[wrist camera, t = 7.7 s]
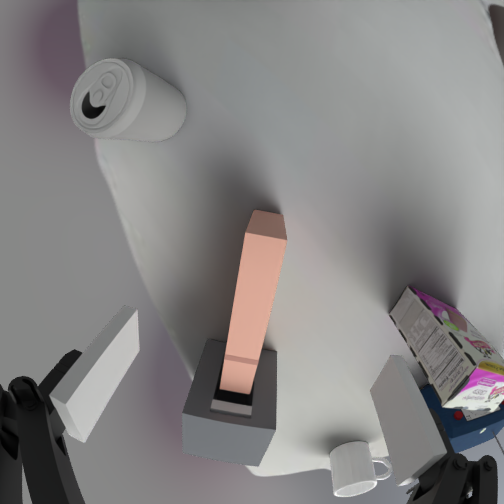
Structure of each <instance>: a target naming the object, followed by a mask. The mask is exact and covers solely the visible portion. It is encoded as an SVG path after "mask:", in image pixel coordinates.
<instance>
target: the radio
mask: <svg viewBox="0 0 504 504" xmlns="http://www.w3.org/2000/svg"><path fill="white" fill-rule="evenodd" d="M420 392H421V394H422V396H423V398H424V400H425V402H426V405H427V407H428V408H432V409H433V410H434V411H435V412H436V413H437V414H438V416H439V418H440V420H441V422H442V424H443V426H444V431H446V433H447V435H448V438H449V440H450V442H451V445H452V447H453V449H454V452H455V453H458V452H461V451H464V450H466V449H469V448H471V447H474V446H476V445H479V444H481V443H484V442H486V441H488V440H490V439H493V438H494V437H495V438H496V440H497V442H498V444H499V446H500V448H501V450H502V452H503V454H504V451H503V449H502V447H501V445H500V443H499V441H498V439H497V437H496V435H497V434H498V432H499V431H500V430H501V429H502V428H503V427H504V400H503V401H502V403H501V404H500V405H499V406H498V407H497V408H496V409H495V410H494V411H493V412H489V411H475V410H464V409H455V408H446V407H442V406H441V403H440V401H439V399H438V398H437V395H436V394H435V392H434V390H433V388H432V386H431V385H426V386H425V387H424V388H423V389H422V390H421V391H420Z"/></svg>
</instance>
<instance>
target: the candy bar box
mask: <svg viewBox="0 0 504 504" xmlns="http://www.w3.org/2000/svg"><path fill="white" fill-rule="evenodd" d="M389 316H390V318H391V319H392V321H393V322H394V324H395V325H396V327H397V329H398V330H399V332H400V333H401V335H402V337H403V338H404V340H405V341H406V343H407V345H408V347H409V348H410V350H411V351H412V353H413V355H414V357H415V358H416V360H417V362H418V363H419V365H420V367H421V369H422V370H423V372H424V374H425V376H426V377H427V379H428V381H429V383H430V384H431V386H432V388H433V390H434V392H435V394H436V395H437V398H438V399H439V401H440V403H441V406H442V407H446V408H455V409H464V410H475V411H489V412H493V411H494V410H495V409H496V408H497V407H498V406H499V405H500V404H501V403H502V401H503V400H504V359H503V358H502V357H501V356H500V355H499V354H498V352H497V351H496V350H495V349H494V348H493V347H492V346H491V345H490V343H489V342H488V341H487V340H486V339H485V338H484V337H483V336H482V335H481V334H480V333H479V332H478V331H477V329H476V328H475V327H474V326H473V325H472V324H471V323H470V322H469V321H468V320H467V319H466V318H465V317H464V316H463V315H462V314H461V313H460V312H459V311H458V310H457V309H455V308H453V307H451V306H449V305H447V304H445V303H443V302H441V301H439V300H437V299H435V298H433V297H431V296H429V295H427V294H425V293H423V292H421V291H419V290H417V289H415V288H413V287H411V286H409V285H408V286H407V287H406V288H405V290H404V291H403V293H402V295H401V297H400V299H399V300H398V302H397V303H396V305H395V306H394V308H393V309H392V311H391V312H390V314H389Z"/></svg>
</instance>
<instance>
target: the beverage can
mask: <svg viewBox="0 0 504 504" xmlns="http://www.w3.org/2000/svg"><path fill="white" fill-rule="evenodd" d="M70 112H71V116H72V120H73V122H74V123H75V125H76V126H77V127H78V128H79V129H80V130H82V131H84V132H85V133H87V134H88V135H89V136H91V137H94V138H98V139H118V140H134V141H147V142H160V141H164V140H166V139H168V138H170V137H172V136H173V135H174V134H176V133H177V132H178V131H179V129H180V128H181V126H182V125H183V123H184V121H185V118H186V113H187V105H186V101H185V98H184V96H183V95H182V93H181V92H180V91H179V90H178V89H177V88H175V87H174V86H172V85H171V84H169V83H167V82H166V81H164V80H163V79H161V78H160V77H158V76H156V75H155V74H153V73H152V72H150V71H148V70H147V69H145V68H144V67H142V66H140V65H139V64H137V63H135V62H134V61H132V60H129V59H125V58H116V59H114V58H108V59H103V60H100V61H98V62H96V63H94V64H93V65H91V66H90V67H89V68H87V69H86V70H85V71H84V72H83V74H82V75H81V76H80V77H79V79H78V81H77V82H76V84H75V86H74V88H73V91H72V94H71V99H70Z"/></svg>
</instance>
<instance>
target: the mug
mask: <svg viewBox="0 0 504 504" xmlns="http://www.w3.org/2000/svg"><path fill="white" fill-rule="evenodd" d="M373 462H382V463H383V464H384V465H386V466H387V467H388V471H387V473H385V474H383V475H381V476H376V475H375V470H374V466H373ZM330 464H331V472H332V482H333V492H334V495H336V496H339V497H349V496H354V495H359V494H362V493H365V492H367V491H369V490H371V489H372V488H374V487H375V486H376V484H377V480H383V479H386V478H387V477H389V476H390V475H391V473H392V470H393V467H392V464H391V463H390V462H389V461H388V460H387V459H386V458H379V457H373V458H372V457H371V452H370V448H369V445H368V444H367V443H366V442H363V441H353V442H349V443H345V444H342V445H340V446H338V447H336V448H334V449H333V450H332V451H331V453H330Z"/></svg>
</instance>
